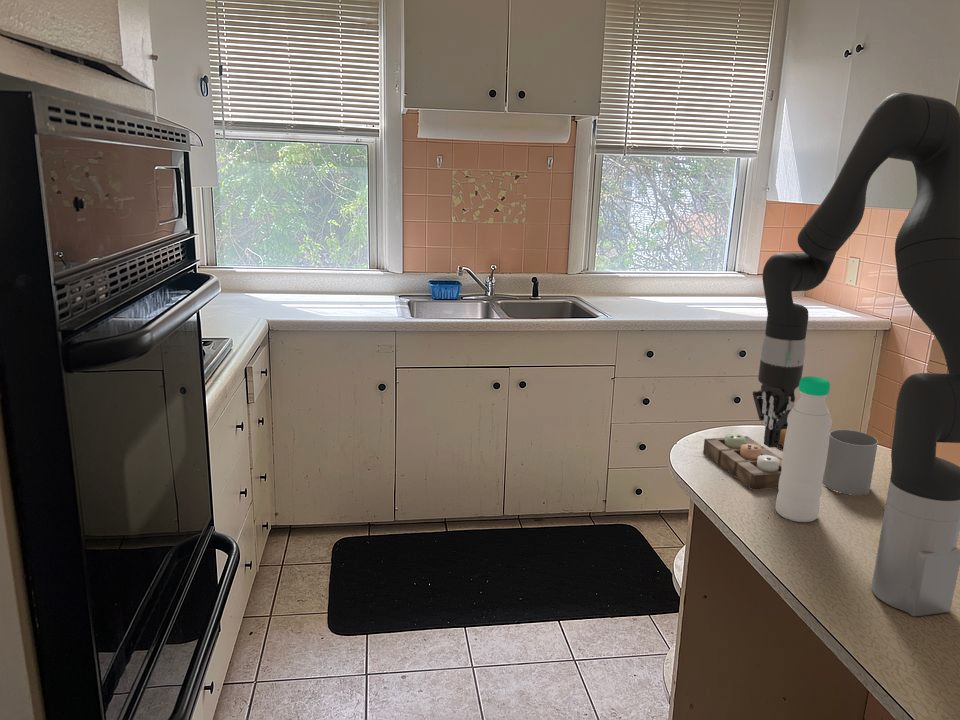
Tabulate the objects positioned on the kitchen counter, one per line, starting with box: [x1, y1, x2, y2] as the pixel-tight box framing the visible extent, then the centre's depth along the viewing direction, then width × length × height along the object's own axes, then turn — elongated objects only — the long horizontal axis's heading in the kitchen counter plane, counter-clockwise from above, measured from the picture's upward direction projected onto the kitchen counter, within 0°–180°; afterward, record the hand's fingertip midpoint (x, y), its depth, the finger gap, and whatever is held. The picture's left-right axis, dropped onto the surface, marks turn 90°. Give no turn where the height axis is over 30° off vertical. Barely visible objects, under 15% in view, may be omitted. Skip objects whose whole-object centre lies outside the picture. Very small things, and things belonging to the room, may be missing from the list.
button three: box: [740, 444, 762, 460], centre depth 150 cm, size 4×4×3 cm
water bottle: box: [774, 375, 833, 523], centre depth 128 cm, size 7×7×25 cm
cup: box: [822, 429, 879, 496], centre depth 142 cm, size 8×8×10 cm
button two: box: [724, 432, 746, 449], centre depth 156 cm, size 4×4×3 cm
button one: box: [757, 455, 780, 472], centre depth 145 cm, size 4×4×3 cm
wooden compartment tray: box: [703, 435, 782, 491], centre depth 151 cm, size 19×10×3 cm, turn 12°
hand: (770, 445), depth 144 cm, fingers closed
